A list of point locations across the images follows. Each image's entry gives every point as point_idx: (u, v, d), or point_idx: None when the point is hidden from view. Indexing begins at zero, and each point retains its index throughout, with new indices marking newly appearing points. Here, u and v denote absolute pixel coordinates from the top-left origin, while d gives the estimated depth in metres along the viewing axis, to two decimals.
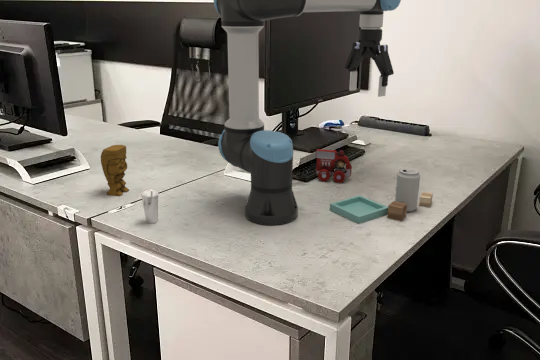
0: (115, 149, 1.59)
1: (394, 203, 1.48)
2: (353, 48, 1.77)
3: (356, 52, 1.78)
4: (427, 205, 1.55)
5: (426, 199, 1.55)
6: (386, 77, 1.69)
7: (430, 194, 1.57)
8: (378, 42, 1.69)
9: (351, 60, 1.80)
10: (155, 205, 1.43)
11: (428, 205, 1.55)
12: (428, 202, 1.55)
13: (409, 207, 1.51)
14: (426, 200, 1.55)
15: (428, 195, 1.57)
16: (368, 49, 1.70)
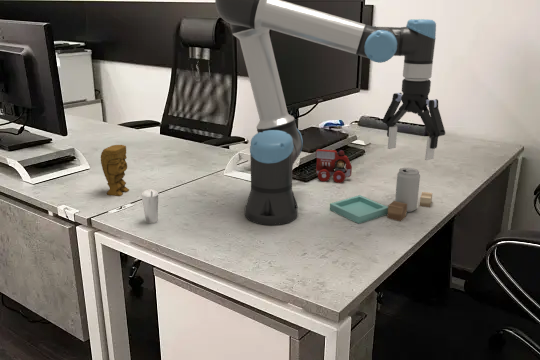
0: (115, 149, 1.59)
1: (394, 203, 1.48)
2: (393, 100, 1.48)
3: (396, 105, 1.50)
4: (428, 205, 1.55)
5: (426, 199, 1.55)
6: (436, 138, 1.41)
7: (430, 194, 1.57)
8: (426, 96, 1.41)
9: (390, 113, 1.51)
10: (155, 205, 1.43)
11: (428, 205, 1.55)
12: (428, 202, 1.55)
13: (409, 207, 1.51)
14: (426, 200, 1.55)
15: (428, 195, 1.57)
16: (414, 104, 1.42)
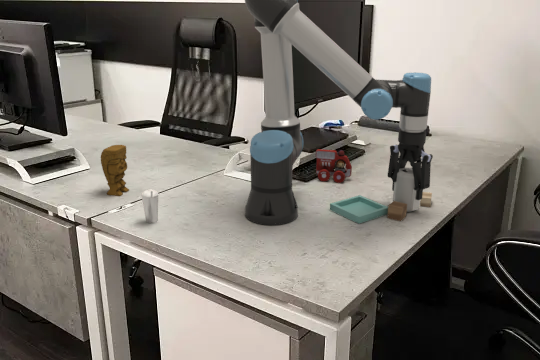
0: (115, 149, 1.59)
1: (394, 203, 1.48)
2: (392, 152, 1.53)
3: (396, 157, 1.53)
4: (428, 205, 1.55)
5: (427, 199, 1.55)
6: (421, 190, 1.48)
7: (430, 194, 1.58)
8: (422, 146, 1.45)
9: (393, 166, 1.54)
10: (155, 205, 1.43)
11: (429, 205, 1.55)
12: (429, 202, 1.55)
13: (409, 207, 1.51)
14: (427, 200, 1.55)
15: (428, 195, 1.57)
16: (409, 154, 1.46)
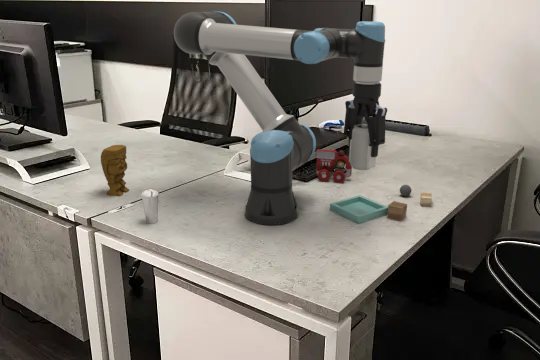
0: (115, 149, 1.59)
1: (394, 203, 1.48)
2: (347, 108, 1.46)
3: (352, 113, 1.46)
4: (429, 205, 1.55)
5: (427, 199, 1.55)
6: (376, 146, 1.41)
7: (429, 194, 1.58)
8: (376, 99, 1.38)
9: (348, 123, 1.47)
10: (155, 205, 1.43)
11: (429, 205, 1.55)
12: (429, 202, 1.55)
13: (364, 165, 1.44)
14: (427, 200, 1.55)
15: (428, 195, 1.57)
16: (364, 108, 1.39)
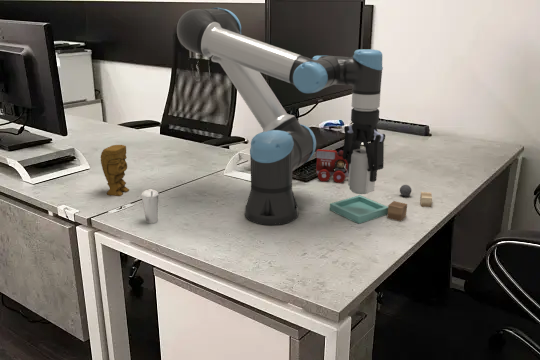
0: (115, 149, 1.59)
1: (394, 203, 1.48)
2: (346, 133, 1.48)
3: (351, 138, 1.49)
4: (429, 205, 1.55)
5: (428, 199, 1.55)
6: (375, 171, 1.43)
7: (429, 194, 1.58)
8: (374, 126, 1.40)
9: (347, 147, 1.49)
10: (155, 205, 1.43)
11: (430, 205, 1.55)
12: (430, 202, 1.55)
13: (363, 189, 1.46)
14: (428, 200, 1.55)
15: (428, 195, 1.57)
16: (362, 133, 1.42)
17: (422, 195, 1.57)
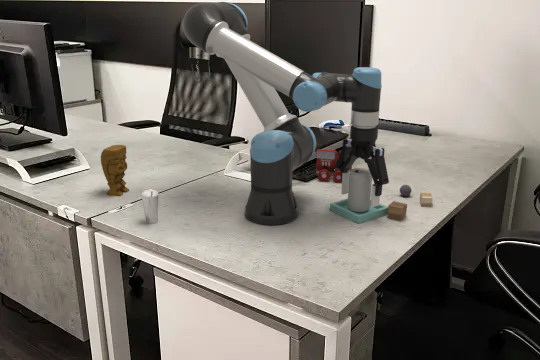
0: (115, 149, 1.59)
1: (394, 203, 1.48)
2: (344, 146, 1.50)
3: (347, 150, 1.51)
4: (429, 205, 1.55)
5: (428, 199, 1.55)
6: (380, 186, 1.43)
7: (429, 194, 1.58)
8: (373, 143, 1.42)
9: (342, 159, 1.52)
10: (155, 205, 1.43)
11: (430, 205, 1.55)
12: (430, 202, 1.55)
13: (361, 209, 1.48)
14: (428, 200, 1.55)
15: (428, 195, 1.57)
16: (361, 150, 1.43)
17: (422, 195, 1.57)
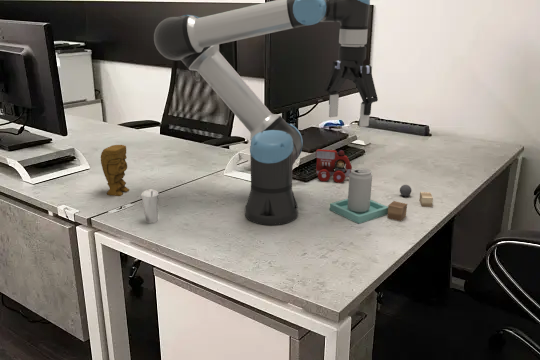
0: (115, 149, 1.59)
1: (394, 203, 1.48)
2: (333, 68, 1.49)
3: (336, 73, 1.51)
4: (430, 205, 1.55)
5: (429, 199, 1.55)
6: (369, 104, 1.41)
7: (429, 194, 1.58)
8: (360, 62, 1.41)
9: (331, 81, 1.52)
10: (155, 205, 1.43)
11: (431, 205, 1.55)
12: (431, 202, 1.55)
13: (361, 209, 1.48)
14: (429, 200, 1.55)
15: (428, 195, 1.57)
16: (349, 70, 1.43)
17: (422, 195, 1.57)
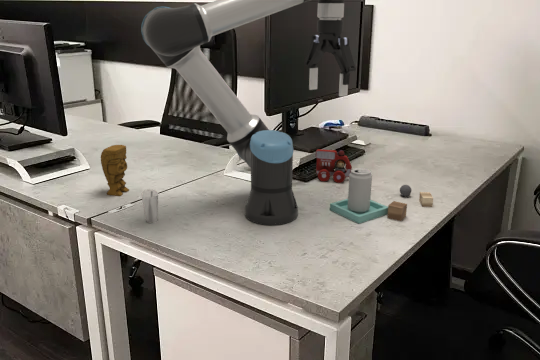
0: (115, 149, 1.59)
1: (394, 203, 1.48)
2: (312, 42, 1.57)
3: (315, 47, 1.58)
4: (430, 205, 1.55)
5: (429, 199, 1.55)
6: (347, 74, 1.49)
7: (429, 194, 1.58)
8: (338, 35, 1.49)
9: (310, 55, 1.59)
10: (155, 205, 1.43)
11: (431, 205, 1.55)
12: (431, 202, 1.55)
13: (361, 208, 1.48)
14: (429, 200, 1.55)
15: (428, 195, 1.57)
16: (327, 43, 1.50)
17: (422, 195, 1.56)
